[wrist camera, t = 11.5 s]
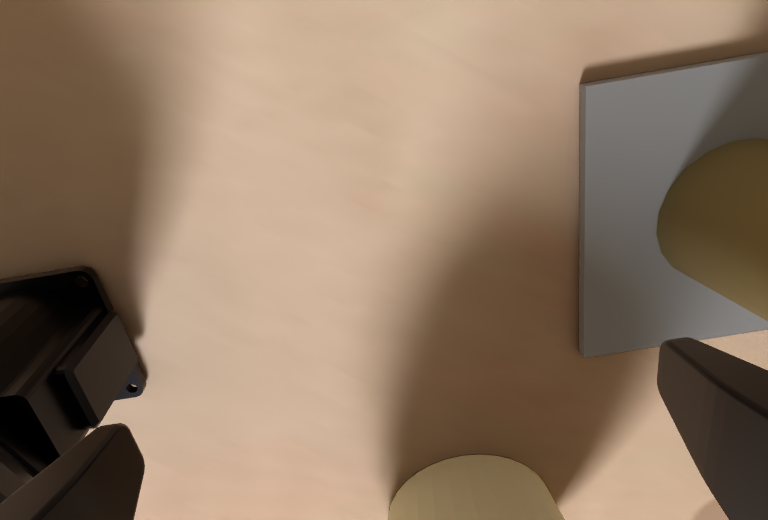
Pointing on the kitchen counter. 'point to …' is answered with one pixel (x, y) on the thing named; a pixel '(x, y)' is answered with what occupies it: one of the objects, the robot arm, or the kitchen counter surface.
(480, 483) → the reusable coffee cup
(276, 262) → the kitchen counter surface
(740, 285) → the cork
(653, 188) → the mat
